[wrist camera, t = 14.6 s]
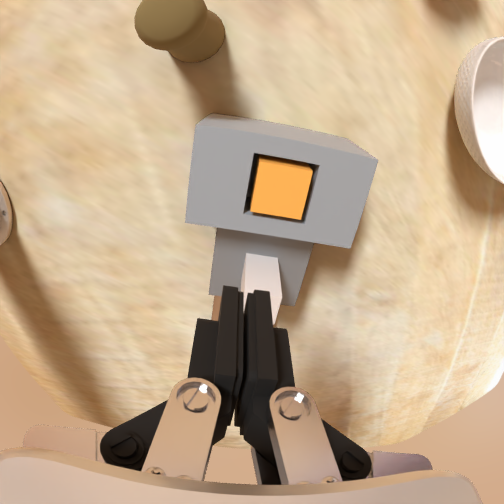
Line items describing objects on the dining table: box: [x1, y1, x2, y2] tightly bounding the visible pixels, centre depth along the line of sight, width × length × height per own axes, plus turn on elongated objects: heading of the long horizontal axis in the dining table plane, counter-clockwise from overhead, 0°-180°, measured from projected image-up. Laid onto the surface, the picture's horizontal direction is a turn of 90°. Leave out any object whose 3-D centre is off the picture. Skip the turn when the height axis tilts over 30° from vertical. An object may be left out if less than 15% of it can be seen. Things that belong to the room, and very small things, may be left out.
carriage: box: [209, 227, 314, 325], centre depth 30 cm, size 9×8×10 cm
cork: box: [135, 0, 225, 63], centre depth 21 cm, size 6×6×11 cm
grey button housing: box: [185, 113, 378, 249], centre depth 28 cm, size 15×8×9 cm, turn 80°
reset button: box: [250, 154, 313, 220], centre depth 26 cm, size 4×4×4 cm
